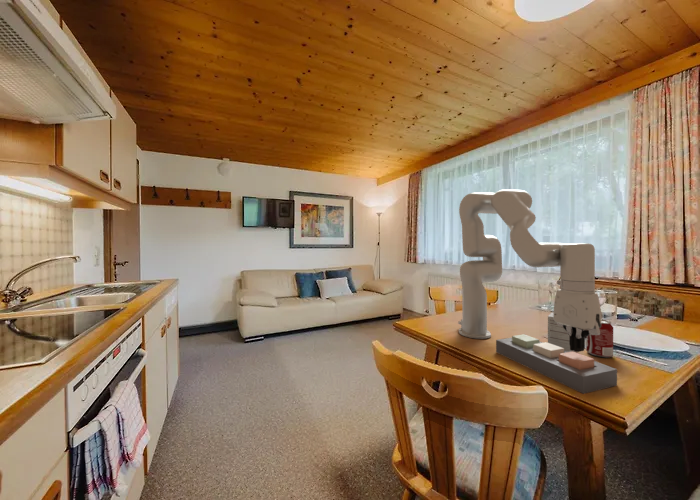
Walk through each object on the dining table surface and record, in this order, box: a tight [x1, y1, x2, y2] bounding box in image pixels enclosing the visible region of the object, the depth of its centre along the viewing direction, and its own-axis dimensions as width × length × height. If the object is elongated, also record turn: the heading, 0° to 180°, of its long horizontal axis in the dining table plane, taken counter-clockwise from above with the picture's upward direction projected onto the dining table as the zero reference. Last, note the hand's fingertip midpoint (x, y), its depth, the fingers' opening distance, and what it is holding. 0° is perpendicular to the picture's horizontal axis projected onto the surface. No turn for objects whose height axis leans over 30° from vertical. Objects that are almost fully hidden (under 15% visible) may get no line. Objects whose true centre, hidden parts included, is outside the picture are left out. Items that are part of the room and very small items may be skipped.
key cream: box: [533, 341, 564, 358], centre depth 85 cm, size 6×6×3 cm
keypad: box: [495, 337, 618, 395], centre depth 85 cm, size 28×13×4 cm, turn 17°
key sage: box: [511, 333, 540, 348], centre depth 93 cm, size 6×6×3 cm
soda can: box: [585, 318, 614, 359], centre depth 93 cm, size 7×7×12 cm
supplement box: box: [547, 312, 575, 352], centre depth 98 cm, size 7×7×13 cm
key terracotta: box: [559, 351, 595, 370], centre depth 77 cm, size 6×6×3 cm
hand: (577, 350), depth 77 cm, fingers closed
